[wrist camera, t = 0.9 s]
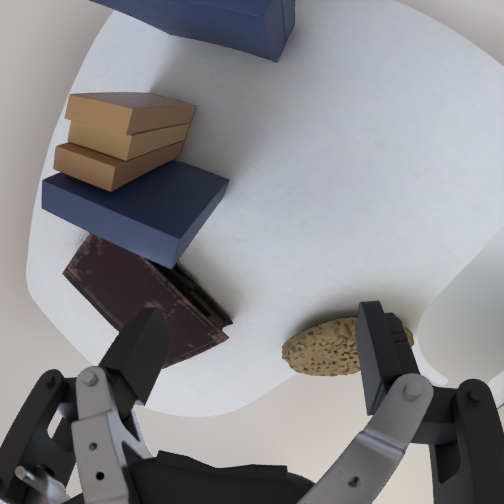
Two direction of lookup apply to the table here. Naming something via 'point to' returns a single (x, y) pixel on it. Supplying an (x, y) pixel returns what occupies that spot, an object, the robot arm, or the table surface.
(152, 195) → the navy book
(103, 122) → the tan books
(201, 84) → the table surface
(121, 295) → the diary
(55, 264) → the table surface
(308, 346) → the sponge
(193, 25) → the navy book pair
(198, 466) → the robot arm
